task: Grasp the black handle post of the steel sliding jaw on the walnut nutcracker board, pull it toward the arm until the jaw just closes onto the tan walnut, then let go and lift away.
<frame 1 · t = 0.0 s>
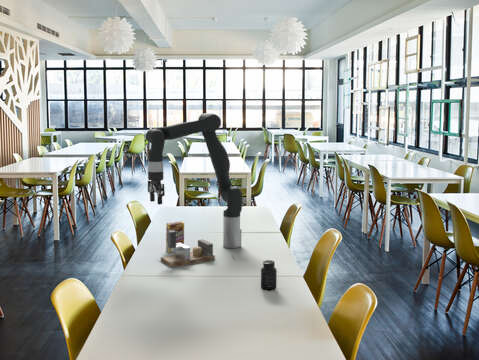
hand: (156, 202, 255), 29 cm above the table, fingers open, 8 cm apart
cracker board: (188, 260, 259), on the table
jaw: (177, 244, 254), point 9 cm above the table, slide at 0.0 cm
walnut: (197, 254, 262), point 2 cm above the table, touching cracker board
candy box: (175, 251, 275), on the table
supplement bottle: (268, 288, 223), on the table
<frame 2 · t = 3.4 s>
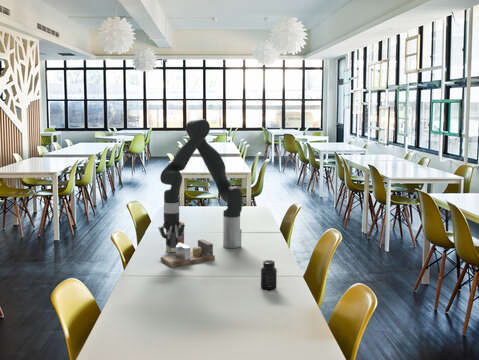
hand: (171, 245, 253), 9 cm above the table, fingers closed on jaw, 3 cm apart
jaw: (177, 244, 254), point 9 cm above the table, slide at 0.0 cm, touching gripper
everything else where it was.
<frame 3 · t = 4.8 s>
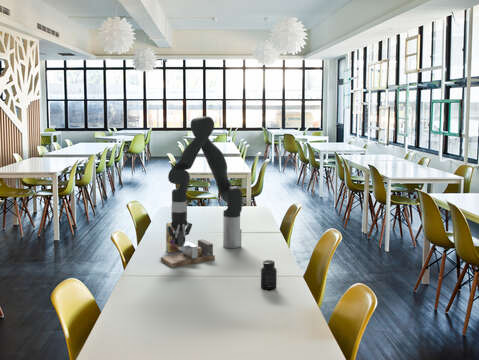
hand: (179, 244, 255), 9 cm above the table, fingers closed on jaw, 3 cm apart
jaw: (184, 243, 257), point 9 cm above the table, slide at 4.2 cm, touching gripper
everything else where it was.
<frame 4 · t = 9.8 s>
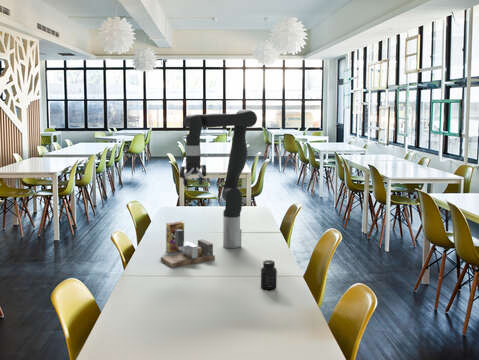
hand: (193, 185, 265), 36 cm above the table, fingers open, 8 cm apart
jaw: (184, 243, 257), point 9 cm above the table, slide at 4.2 cm
everything else where it was.
at the end: jaw slide at 4.2 cm; walnut moved 0.0 cm from its start; the gripper is holding nothing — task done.
